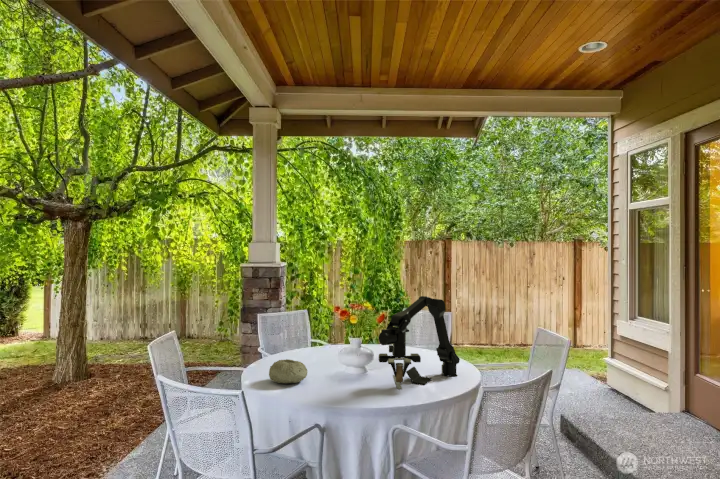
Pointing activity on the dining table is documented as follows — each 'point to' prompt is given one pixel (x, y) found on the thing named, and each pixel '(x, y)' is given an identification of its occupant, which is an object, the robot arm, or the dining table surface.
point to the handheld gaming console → (417, 377)
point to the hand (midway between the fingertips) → (399, 376)
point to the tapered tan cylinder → (399, 372)
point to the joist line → (397, 383)
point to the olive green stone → (287, 371)
